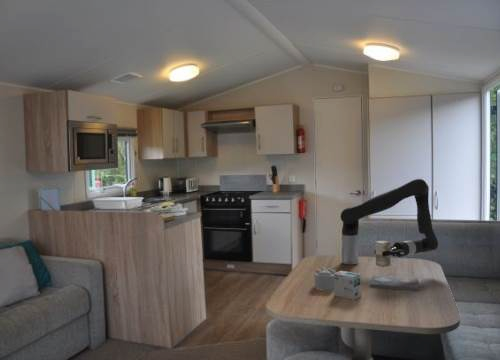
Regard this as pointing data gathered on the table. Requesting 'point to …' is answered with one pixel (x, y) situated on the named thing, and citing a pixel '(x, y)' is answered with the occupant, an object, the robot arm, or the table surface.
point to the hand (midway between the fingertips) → (378, 253)
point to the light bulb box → (347, 285)
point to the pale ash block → (380, 248)
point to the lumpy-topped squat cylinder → (324, 279)
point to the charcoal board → (394, 282)
